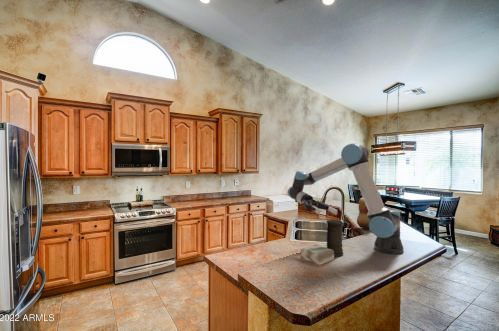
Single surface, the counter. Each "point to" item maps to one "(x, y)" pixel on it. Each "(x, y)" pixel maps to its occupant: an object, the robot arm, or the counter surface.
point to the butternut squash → (363, 215)
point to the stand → (317, 254)
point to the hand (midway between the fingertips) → (328, 212)
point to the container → (334, 236)
